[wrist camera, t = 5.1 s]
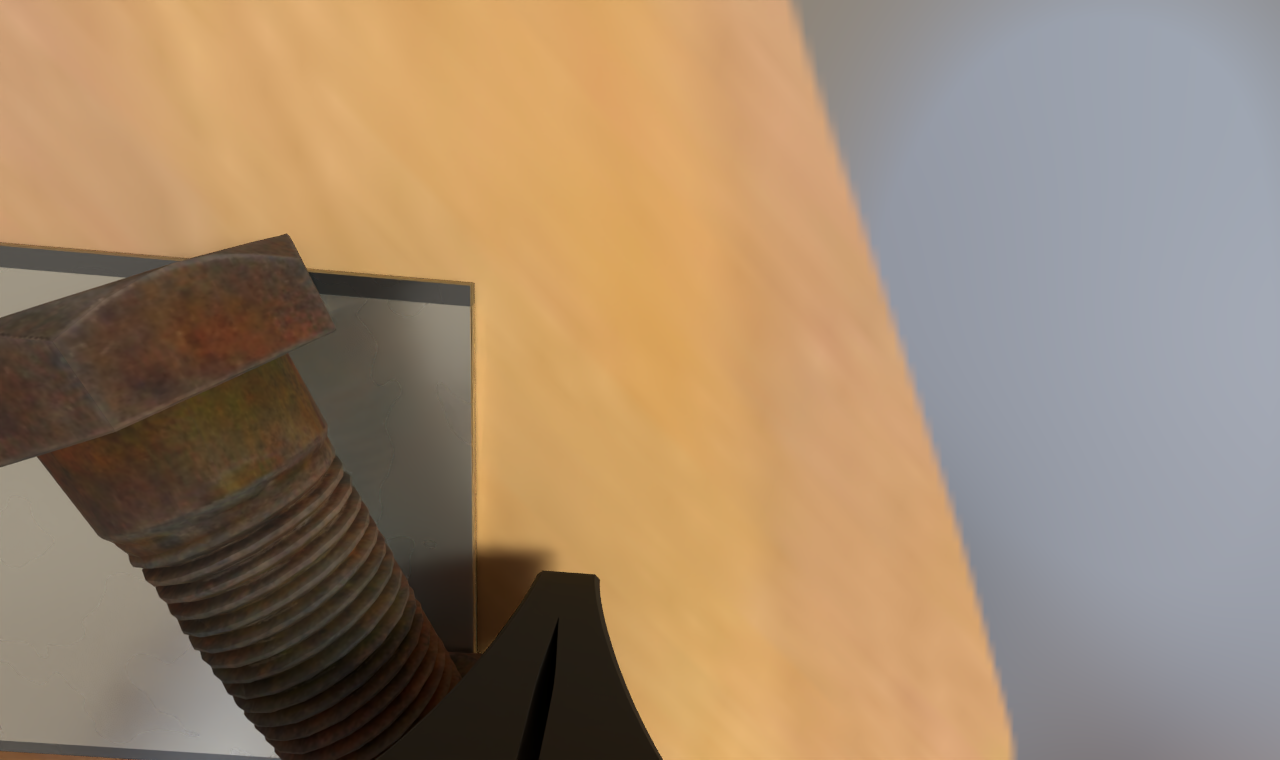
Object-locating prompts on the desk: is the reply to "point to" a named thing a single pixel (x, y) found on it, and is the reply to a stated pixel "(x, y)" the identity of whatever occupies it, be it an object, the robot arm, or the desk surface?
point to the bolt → (229, 491)
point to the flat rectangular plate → (117, 592)
